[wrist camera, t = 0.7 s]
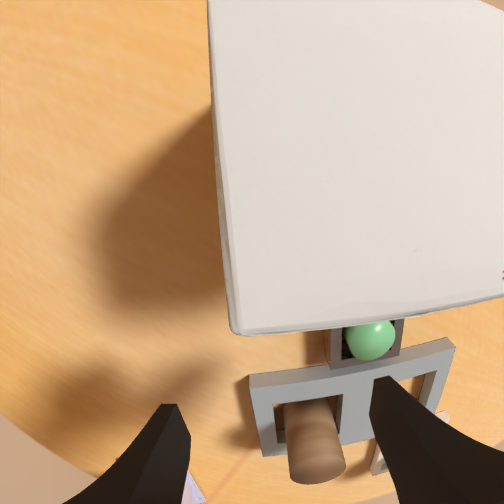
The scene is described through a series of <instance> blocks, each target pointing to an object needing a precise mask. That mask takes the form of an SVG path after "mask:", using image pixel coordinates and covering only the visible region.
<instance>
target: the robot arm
mask: <svg viewBox="0 0 504 504" xmlns="http://www.w3.org/2000/svg"><path fill="white" fill-rule="evenodd" d="M369 418H370V421H371V425H372V429H373V432H374V436H375V438H376V441H377V443H378V446H379V448H380V451H381V453H382V455H383V458H384V460H385V462H386V465H387V467H388V470H389V472H390V475H391V477H392V479H393V482H394V485H395V488H396V492H397V495H398V499H399V503H400V504H504V452H502V451H499V450H497V449H494V448H492V447H489V446H487V445H485V444H482V443H480V442H478V441H476V440H474V439H472V438H470V437H468V436H466V435H464V434H463V433H461V432H459V431H458V430H456V429H454V428H453V427H451V426H450V425H448V424H447V423H445V422H444V421H443V420H441V419H440V418H438V417H437V416H436V415H434V414H433V413H432V412H431V411H429V410H428V409H427V408H426V407H425V406H423V405H422V404H421V403H420V402H418V401H417V400H416V399H415V398H414V397H413V396H412V395H410V394H409V393H408V392H407V391H406V390H405V389H404V388H403V387H402V386H401V385H399V384H398V383H397V382H396V381H395V380H394V379H393V378H392V377H391V376H389V375H388V376H384V377H380V378H376V379H374V382H373V389H372V396H371V403H370V409H369ZM190 448H191V435H190V433H189V431H188V429H187V427H186V424H185V422H184V420H183V418H182V415H181V413H180V411H179V408H178V406H177V404H161V405H160V406H159V407H158V408H157V410H156V411H155V413H154V414H153V415H152V417H151V418H150V420H149V421H148V422H147V424H146V425H145V426H144V428H143V429H142V430H141V432H140V433H139V434H138V436H137V437H136V438H135V439H134V441H133V442H132V443H131V445H130V446H129V447H128V448H127V449H126V450H125V452H124V453H123V454H122V455H121V456H120V457H119V458H118V459H117V461H116V462H115V463H114V464H113V465H112V466H111V467H110V468H109V469H108V470H107V471H106V472H105V473H104V474H103V475H101V476H100V477H99V478H98V479H97V480H96V481H94V482H93V483H92V484H91V485H90V486H88V487H87V488H86V489H84V490H83V491H82V492H80V493H79V494H77V495H76V496H74V497H73V498H71V499H69V500H68V501H66V502H64V503H63V504H198V503H205V502H206V499H205V497H204V496H203V494H202V492H201V491H200V489H199V487H198V486H197V484H196V482H195V481H194V479H193V477H192V475H191V474H190V472H189V470H188V466H189V461H190Z"/></svg>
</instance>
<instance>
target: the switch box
mask: <svg viewBox="0 0 504 504" xmlns="http://www.w3.org/2000/svg"><path fill="white" fill-rule="evenodd" d="M389 321H390V323H391V324H392V326H393V327H394V329H395V340H394V342H393V344H392V346H391V347H390V349H389V350H388V351H387V352H386V353H385V354H383V355H382V356H380V357H378V358H376V359H373V360H360V359H358V358H356V357H355V356H354V355H353V354H352V352H351V350H350V348H349V346H348V344H347V343H342V327H341V328H333V329H325V355H326V358H327V361H328V364H329V367H330V370H333V369H339V368H344V367H350V366H355V365H360V364H365V363H369V362H374V361H379V360H383V359H388V358H392V357H396V356H399V353H400V347H401V340H402V333H403V326H404V318H403V319H396V320H389Z"/></svg>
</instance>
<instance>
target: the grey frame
mask: <svg viewBox="0 0 504 504" xmlns="http://www.w3.org/2000/svg"><path fill="white" fill-rule="evenodd" d="M455 348H456V347H455V346H454V344H453V343H452V342H451V341H450V340H449V339H448V338H447V337H445V338H442V339H438V340H435V341H431V342H427V343H424V344H420V345H416V346H412V347H408V348H404V349H400V353H399V356H396V357H392V358H388V359H383V360H379V361H374V362H369V363H365V364H360V365H355V366H350V367H344V368H339V369H333V370H330V367H329V364H326V365H320V366H314V367H307V368H300V369H293V370H285V371H277V372H269V373H259V374H249V389H250V394H251V399H252V405H253V410H254V415H255V420H256V425H257V430H258V435H259V440H260V445H261V450H262V455H263V457H266V456H276V455H285V454H287V445H286V436H285V430H279V431H276V424H275V417H274V409H273V404H280V403H288V402H296V401H303V400H310V399H316V398H322V397H328V396H334V395H338V402H337V416H336V422H335V426H336V429H337V433H338V437H339V440H340V444H341V446H342V445H347V444H351V443H356V442H360V441H364V440H369V439H373V438H375V436H374V432H373V429H372V425H371V421H370V418H369V409H370V403H371V396H372V389H373V382H374V379H376V378H380V377H384V376H388V375H389V376H391V377H392V378H393V379H394V380H395V381H396V382H397V381H401V380H405V379H408V378H412V377H415V376H419V375H422V374H425V378H424V382H423V386H422V389H421V393H420V396H419V399H418V402H420V403H421V404H422V405H423V406H425V407H426V408H427V409H428V410H429V411H431V412H432V413H433V414H435V411H436V408H437V406H438V403H439V400H440V397H441V394H442V391H443V388H444V385H445V382H446V379H447V376H448V373H449V369H450V366H451V363H452V359H453V355H454V352H455Z"/></svg>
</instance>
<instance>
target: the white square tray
mask: <svg viewBox="0 0 504 504" xmlns="http://www.w3.org/2000/svg"><path fill="white" fill-rule="evenodd" d="M434 415H436V416H437V417H438V418H440V419H441V420H443V421H444V422H445V423H447V424H448V422H449V420H450V416H449V414H448V413H447V411H446V410H444V411H442V412H439V413H436V414H434ZM370 471H371V474H372V476H374V475H377V474H381V473H384V472H388V471H389V470H388V467H387V465H386V462H385V460H384V458H383V455H382V453H381V451H380V448H379V446H378V443H377V445H376V448H375V452H374V455H373V458H372V462H371V465H370Z"/></svg>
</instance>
